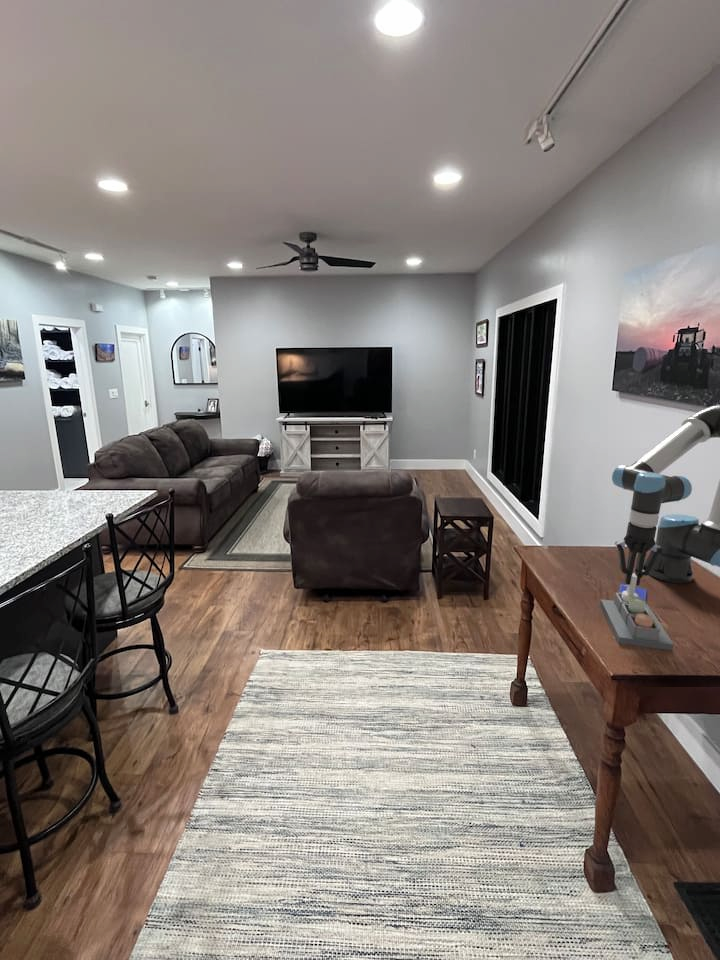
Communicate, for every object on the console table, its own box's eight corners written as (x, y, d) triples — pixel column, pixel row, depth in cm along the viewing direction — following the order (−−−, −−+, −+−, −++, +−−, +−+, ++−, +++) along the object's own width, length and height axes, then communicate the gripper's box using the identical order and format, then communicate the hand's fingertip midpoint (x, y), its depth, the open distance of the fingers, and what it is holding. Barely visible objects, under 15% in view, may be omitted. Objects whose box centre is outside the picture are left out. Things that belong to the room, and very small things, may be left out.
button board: (646, 610, 155) (649, 595, 154) (672, 650, 134) (676, 633, 133) (599, 604, 158) (602, 589, 157) (618, 643, 138) (621, 626, 136)
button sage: (641, 609, 147) (643, 597, 146) (646, 616, 142) (648, 604, 141) (625, 607, 148) (627, 595, 146) (630, 614, 143) (632, 602, 142)
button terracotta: (648, 626, 141) (650, 614, 139) (653, 635, 136) (655, 622, 135) (631, 624, 141) (633, 612, 140) (636, 632, 137) (638, 620, 136)
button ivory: (633, 602, 154) (635, 591, 153) (637, 609, 150) (639, 598, 148) (618, 601, 155) (620, 590, 154) (622, 608, 150) (624, 596, 149)
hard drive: (620, 583, 171) (617, 598, 161) (647, 589, 166) (645, 604, 156) (620, 587, 171) (616, 602, 161) (646, 593, 167) (644, 609, 157)
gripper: (661, 521, 147) (648, 590, 153) (615, 517, 150) (604, 585, 156) (671, 530, 140) (657, 602, 146) (622, 525, 143) (610, 596, 149)
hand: (630, 593), depth 151 cm, fingers closed
